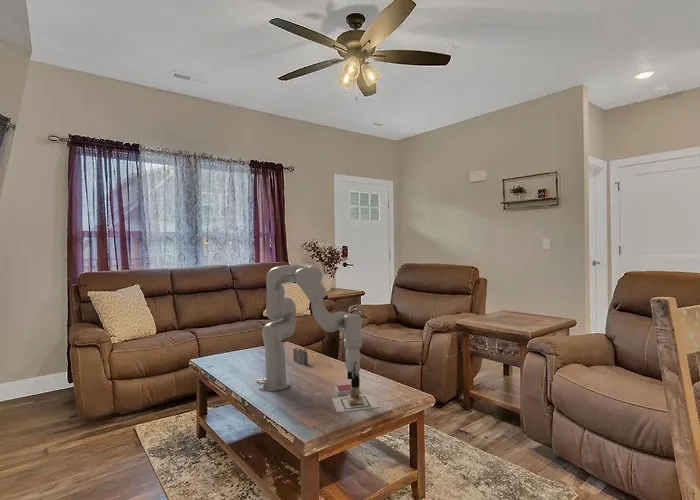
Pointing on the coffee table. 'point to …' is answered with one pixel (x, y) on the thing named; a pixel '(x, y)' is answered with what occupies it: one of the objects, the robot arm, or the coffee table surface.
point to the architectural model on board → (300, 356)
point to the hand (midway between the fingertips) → (353, 382)
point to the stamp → (355, 396)
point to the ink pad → (343, 389)
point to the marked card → (344, 406)
